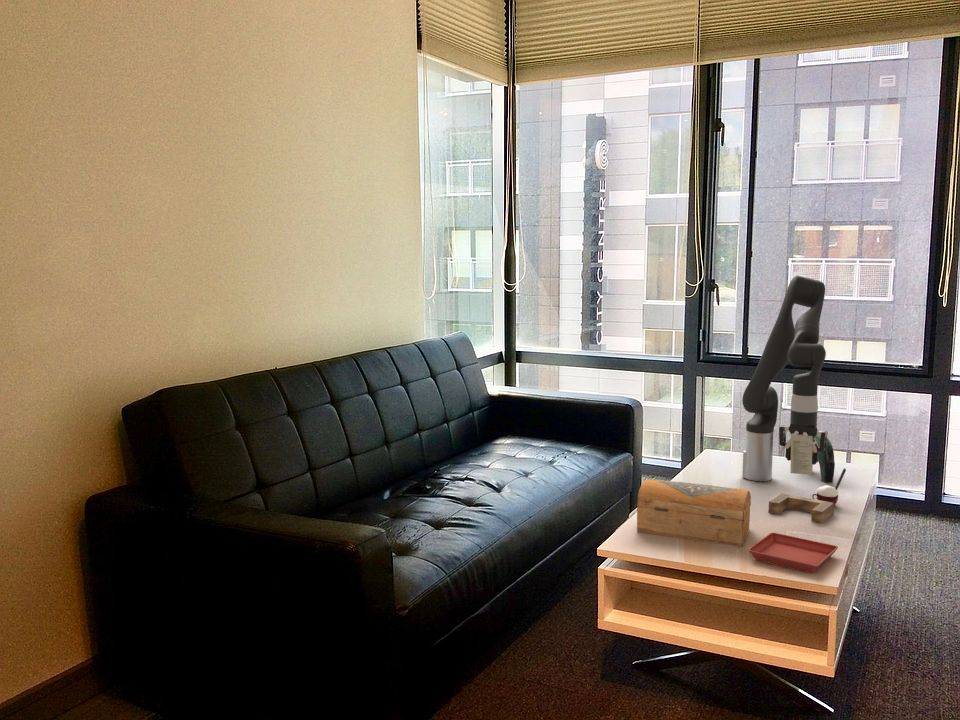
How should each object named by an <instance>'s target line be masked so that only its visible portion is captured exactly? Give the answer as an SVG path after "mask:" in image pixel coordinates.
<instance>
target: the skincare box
mask: <svg viewBox="0 0 960 720" xmlns="http://www.w3.org/2000/svg"><path fill="white" fill-rule="evenodd" d="M809 437H810V439H811V440H812V442H813V436H809ZM790 438H791V460H790V474H793V475H794V474H795V475H807V476H808V475H810V476H812V475H813V467H814V466H813V464H812V453H813V450H812V446H809V444H808V440H809V439H808V438H807V437H806V438H805V437H804V435H801V434H798V435H795V434H791V433H790Z"/></svg>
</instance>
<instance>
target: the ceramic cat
mask: <svg viewBox="0 0 960 720" xmlns="http://www.w3.org/2000/svg"><path fill="white" fill-rule="evenodd" d="M814 438H815V440H816V441H817V445H818V446H819V447H820V438H819V435H818V434H817V435H816V436H815V437H814ZM817 463H818V465H819V469H820V470H819V472H820V479H821V483H825V484H830V483H831V484H832V483H833V482H834V476H835V468H836V463H835V452H834V448H833V445H832V443H831V440H830V439H829V437H827V444H826V450H824V451H823V452H819V461H818V462H817ZM829 482H830V483H829Z"/></svg>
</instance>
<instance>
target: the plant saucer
mask: <svg viewBox="0 0 960 720" xmlns="http://www.w3.org/2000/svg"><path fill="white" fill-rule="evenodd" d="M838 548H839V546H838V545H834V544H829V543H824V542H820V541H816V540H815V541H814V540H811V539H806V538H803V537H802V538H801V537H796V536H792V535H786V534H782V533H777V532H769V534H767V535H766V536H764V537H763V538H762V539H761V540H759V541H758V542H756V543H754V545H752V546H751V547H749V548H748V549H747V551H748V552H749V553H750V555H751V556H752V557H753V558H754V559H755V560H756V561H759V562H763V563H768V564H770V565H775V566H780V567H784V568H788V569H792V570H797V571H801V572H805V573H810V574H812V573H814V572H815V571H816V570H818V568H820V567H821V566H822V565H823V564H824V563H826V561H827V560H828V559H830V558H831V557H832V555H834V554H835V552H836V551H837V550H838Z"/></svg>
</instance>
